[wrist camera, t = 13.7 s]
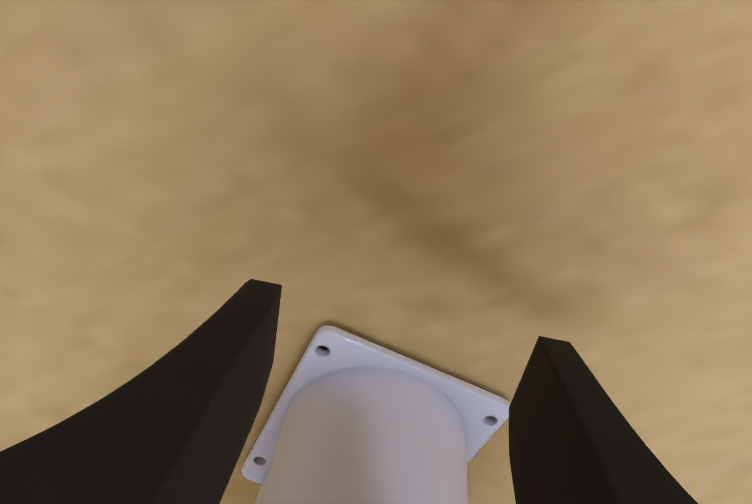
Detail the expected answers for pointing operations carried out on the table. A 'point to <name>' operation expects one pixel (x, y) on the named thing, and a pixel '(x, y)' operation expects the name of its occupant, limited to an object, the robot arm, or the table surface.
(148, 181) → the table surface
